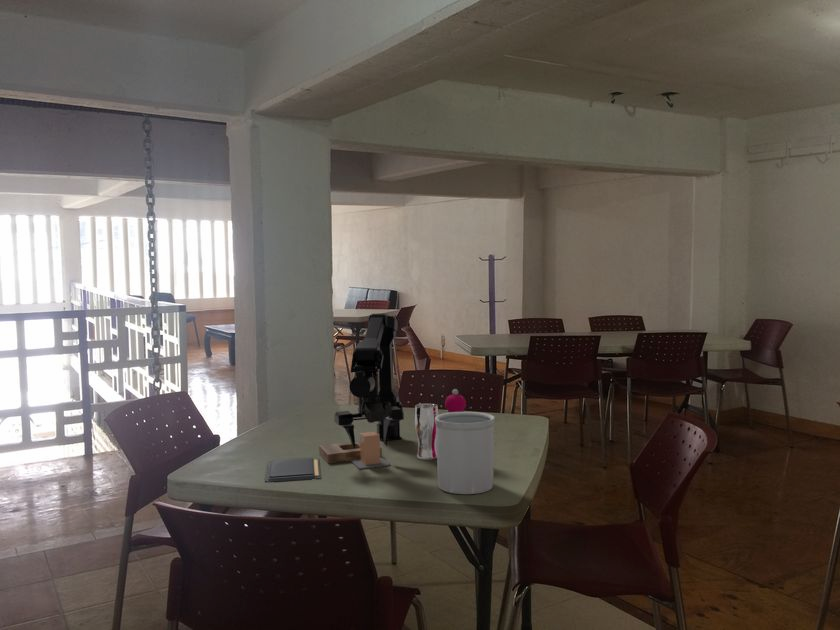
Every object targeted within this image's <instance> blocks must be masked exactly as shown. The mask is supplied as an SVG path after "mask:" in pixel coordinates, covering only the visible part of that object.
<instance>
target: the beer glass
mask: <svg viewBox="0 0 840 630" xmlns="http://www.w3.org/2000/svg"><path fill="white" fill-rule="evenodd" d="M438 407H439V406H438V404H435V403H418V404H416V405H414V417H413V418H414V429H415V434H416V439H417V453H416V458H417V459H419V460H425V461H428V460H429V461H430V460H434V459H437V440H436V424H435V417H436V416H437V415H439V409H438Z"/></svg>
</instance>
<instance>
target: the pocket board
mask: <svg viewBox="0 0 840 630" xmlns="http://www.w3.org/2000/svg"><path fill="white" fill-rule="evenodd" d="M382 449H383V448H382V447H381V446H380V456H381V457H382V458H383V453H382V452H383V451H382ZM318 450H319V451H318V453H319V454H318V455H319V456H322V457H321V458H322V459H323V461H325V462H326V463H327V464H334V463H335V464H336V462H337V463H344V461H345V462H351V460H354V459H361V451H360V440H358V441H357V440H355V448H353V446H352V444H351V441H349V442H348V441H347V442H339V443H332V444H331V443H330V444H321V445H318Z"/></svg>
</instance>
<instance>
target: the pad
mask: <svg viewBox="0 0 840 630" xmlns="http://www.w3.org/2000/svg"><path fill="white" fill-rule="evenodd" d="M350 462H351V463H352V464H353V465H354V466H355V467H356V468H357V469H358V470H366V469H367V468H368V469H374V468H375V467H376V468H382V467H383V466H384V467H389V466H391V463H390V462H389V461H387V460H386V459H384V458H383V456H382V457H381V456H380V463H377V464H369V465H365V464H363V463H362V462H361V459H354V460H351V461H350ZM384 467H383V468H384ZM368 469H367V470H368Z"/></svg>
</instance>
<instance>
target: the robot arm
mask: <svg viewBox="0 0 840 630" xmlns="http://www.w3.org/2000/svg"><path fill="white" fill-rule="evenodd" d="M367 320H368V322H367V323H368V324H367V328H366V331H365V335H364V339H363V340H361V341H359V342H358V343H357V345H356V346H355V350H353V352H352V359H351V365H350V373H355V374H356V375H355V377H353V378H352V379H351V381H349V387H348V388H349V391H350V393H351V394H352V395H353V396H354V397H355V398H358V407H357V412H356V413H352V412H351V411H349V410H343V411H336V412H335V413H334V416H333V417H334V423H335V424H336V425H338V426H341V428H343V429H344V430H345V432H346V434H347V436H348V439H349V442H351V444H352V446H353V448H355V441H356V439H355V430H354V429H355V425H354V424H353V422H354V421H361V420H366V421H367V422H368V423H370V424H371V423H373V424H374V423H376V422H378V423H376V433H378V434H379V435H380V441H383V443H384V445H387V444H388V443H389V442H388V441H394V440H401V439H403V437H402V436H401V425H400V421H402V420H405V416H404V415H405V414H404V407H403V405H402V402H401V401H400V397H399V393H398V392H397V390H396V388H394V370H393V369H394V366H393V347H392V345H393V344H392V343H393V341H394V339H395V337H396V336H397V331H398V327H399V326H398V325H399V323H398V322H399V321H398V319H397V318H396V317H395V316H391V315H388V314H386V313H371V314H369V317H368V319H367Z"/></svg>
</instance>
